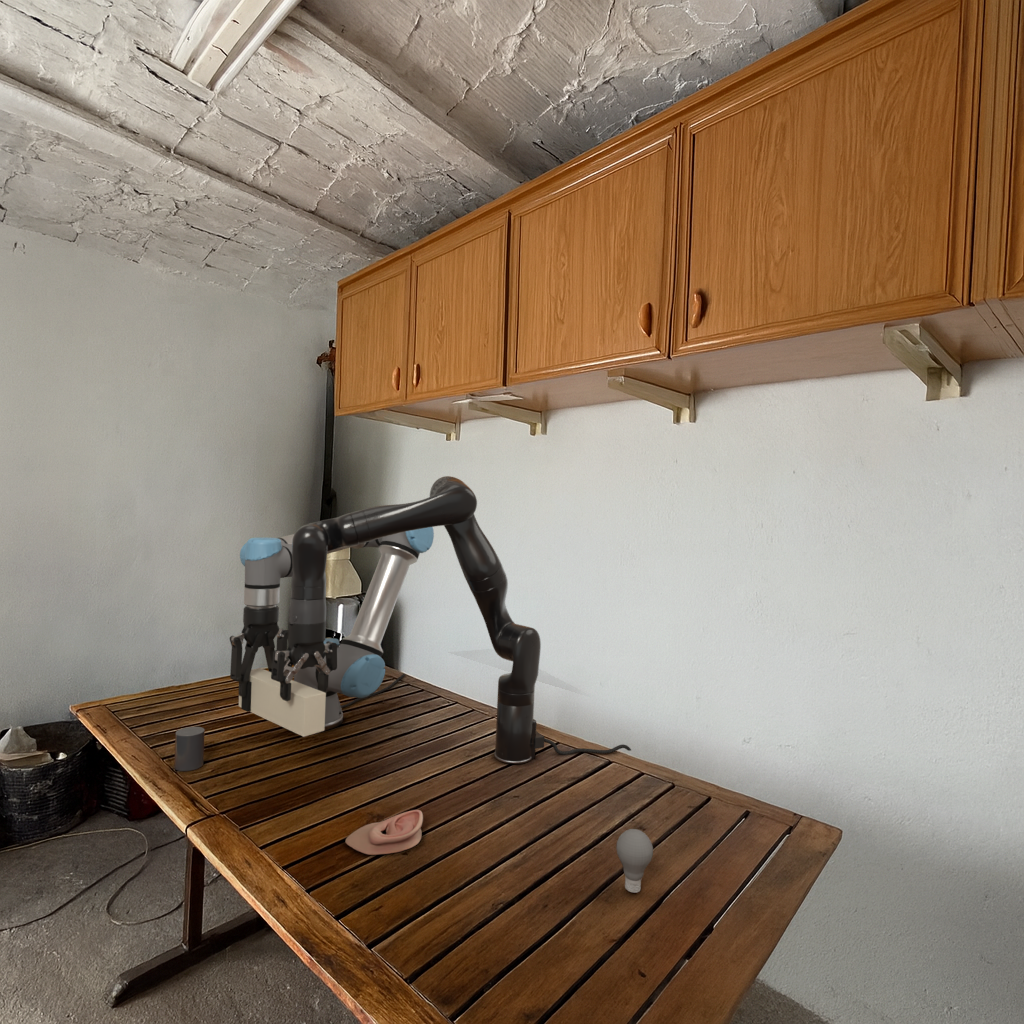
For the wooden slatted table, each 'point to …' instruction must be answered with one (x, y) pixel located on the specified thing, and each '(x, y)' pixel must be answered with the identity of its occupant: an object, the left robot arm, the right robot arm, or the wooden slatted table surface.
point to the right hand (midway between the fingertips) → (304, 695)
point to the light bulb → (634, 857)
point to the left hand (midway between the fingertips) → (257, 706)
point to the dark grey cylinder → (189, 748)
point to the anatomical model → (388, 834)
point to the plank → (287, 704)
